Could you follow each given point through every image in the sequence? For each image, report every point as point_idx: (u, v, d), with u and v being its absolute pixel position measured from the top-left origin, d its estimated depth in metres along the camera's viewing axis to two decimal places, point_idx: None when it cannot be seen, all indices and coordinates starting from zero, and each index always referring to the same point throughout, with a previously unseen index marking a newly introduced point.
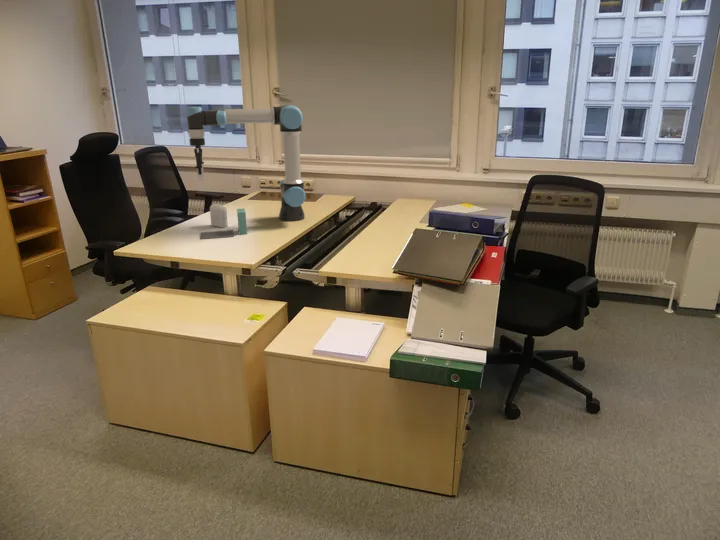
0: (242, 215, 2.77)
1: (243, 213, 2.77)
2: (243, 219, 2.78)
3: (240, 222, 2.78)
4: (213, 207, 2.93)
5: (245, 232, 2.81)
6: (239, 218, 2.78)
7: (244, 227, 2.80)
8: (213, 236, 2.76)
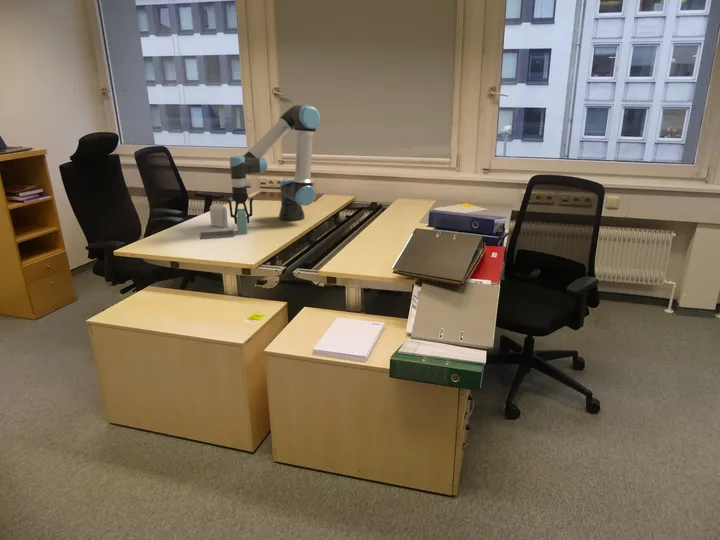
0: (242, 215, 2.77)
1: (243, 213, 2.77)
2: (243, 219, 2.78)
3: (240, 222, 2.78)
4: (213, 207, 2.93)
5: (245, 232, 2.81)
6: (239, 218, 2.78)
7: (244, 227, 2.80)
8: (213, 236, 2.76)
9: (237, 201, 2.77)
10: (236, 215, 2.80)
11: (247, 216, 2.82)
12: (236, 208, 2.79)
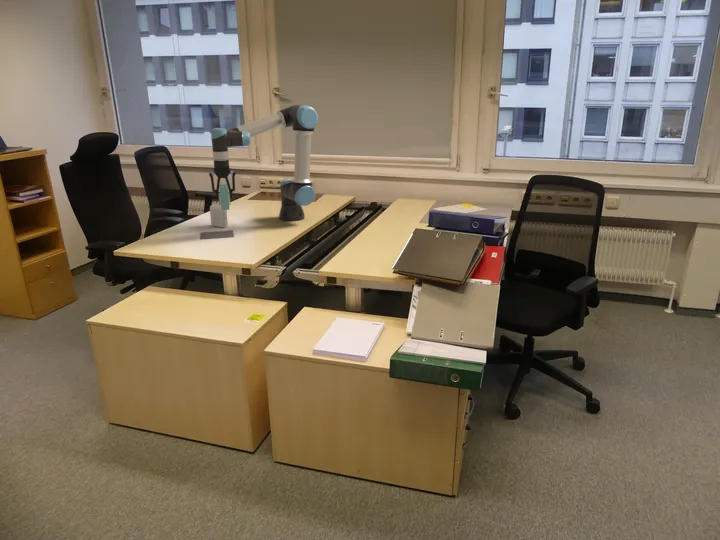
0: (224, 189, 2.69)
1: (225, 187, 2.69)
2: (225, 194, 2.70)
3: (222, 197, 2.70)
4: (213, 207, 2.93)
5: (227, 207, 2.72)
6: (221, 193, 2.69)
7: (227, 202, 2.71)
8: (213, 236, 2.76)
9: (219, 175, 2.69)
10: (218, 190, 2.72)
11: (229, 191, 2.73)
12: (218, 182, 2.70)
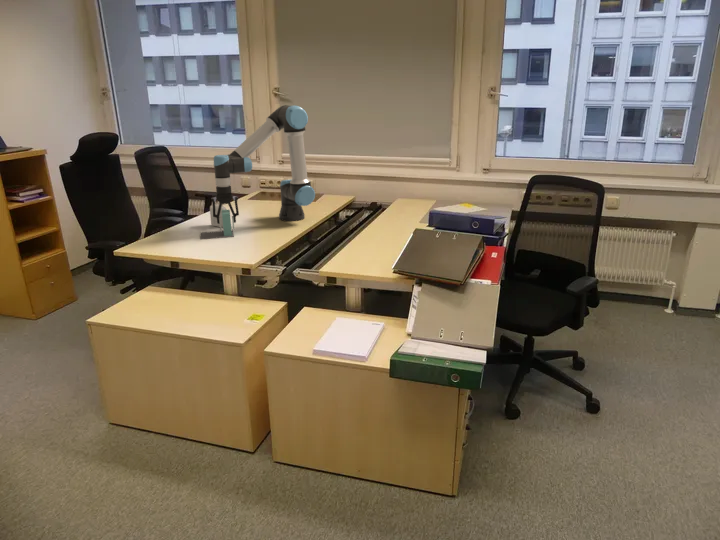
0: (227, 216, 2.74)
1: (228, 214, 2.73)
2: (228, 220, 2.74)
3: (225, 223, 2.75)
4: None
5: (230, 233, 2.77)
6: (224, 219, 2.74)
7: (229, 228, 2.76)
8: (213, 236, 2.76)
9: (221, 201, 2.73)
10: None
11: None
12: (219, 208, 2.75)
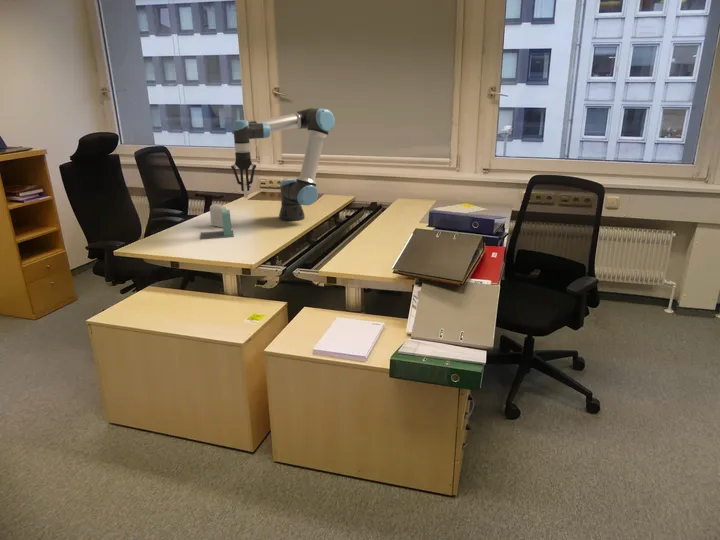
0: (227, 216, 2.74)
1: (228, 214, 2.73)
2: (228, 220, 2.74)
3: (225, 223, 2.75)
4: (213, 207, 2.93)
5: (230, 233, 2.77)
6: (224, 219, 2.74)
7: (229, 228, 2.76)
8: (213, 236, 2.76)
9: (241, 167, 2.70)
10: None
11: (247, 183, 2.74)
12: (241, 174, 2.72)
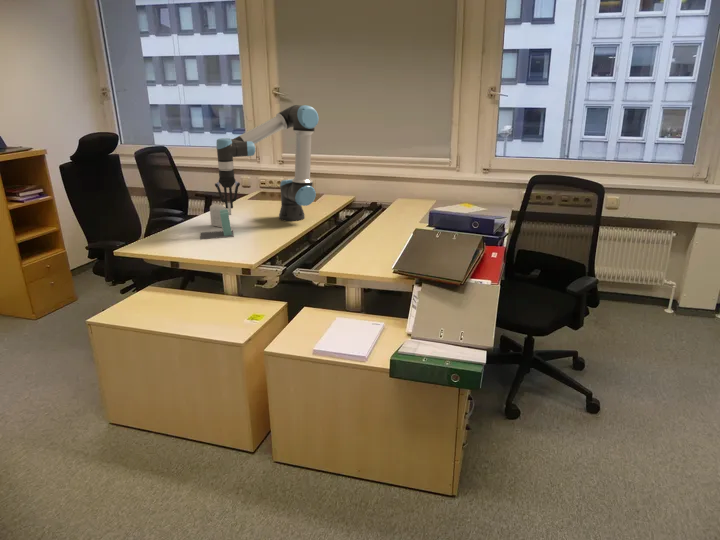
0: (225, 216, 2.73)
1: (226, 214, 2.73)
2: (226, 220, 2.74)
3: (223, 223, 2.74)
4: (213, 207, 2.93)
5: (230, 233, 2.77)
6: (222, 219, 2.74)
7: (228, 227, 2.76)
8: (213, 236, 2.76)
9: (224, 185, 2.71)
10: None
11: (230, 201, 2.75)
12: (225, 192, 2.73)
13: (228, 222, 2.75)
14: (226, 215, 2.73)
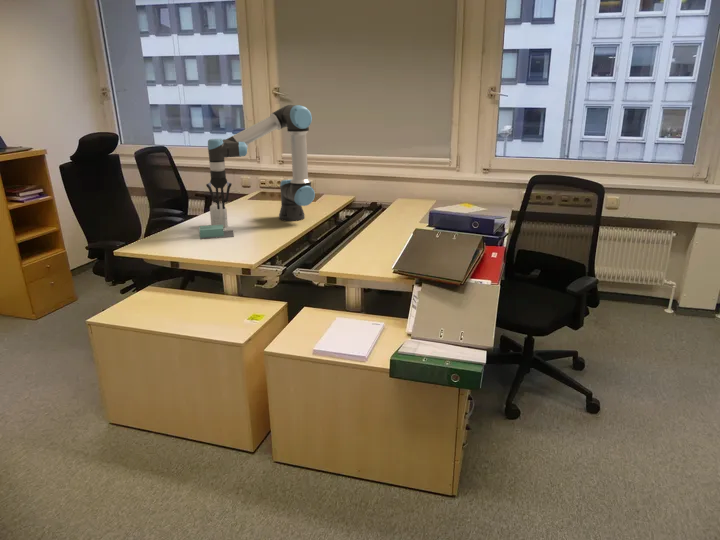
0: (203, 233, 2.73)
1: (200, 232, 2.73)
2: (207, 232, 2.74)
3: (210, 235, 2.75)
4: (213, 207, 2.93)
5: (221, 230, 2.75)
6: (206, 235, 2.74)
7: (215, 230, 2.75)
8: None
9: (216, 185, 2.70)
10: (218, 200, 2.73)
11: (222, 202, 2.74)
12: (217, 193, 2.72)
13: (209, 230, 2.74)
14: (202, 232, 2.73)
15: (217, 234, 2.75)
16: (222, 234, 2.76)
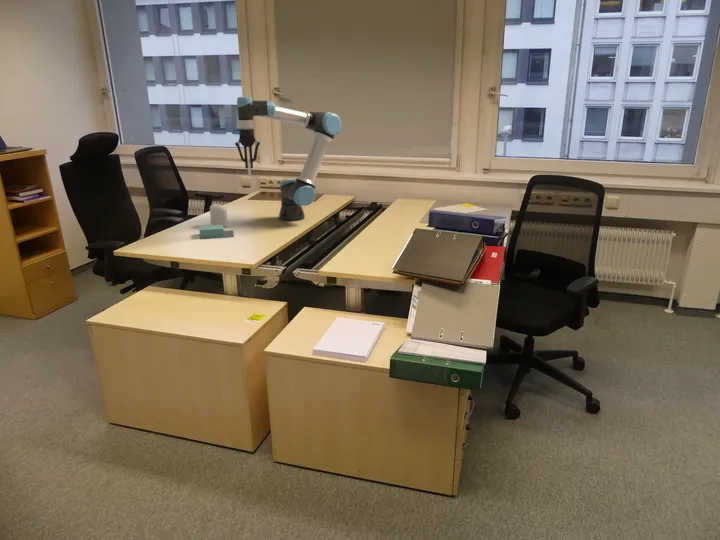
0: (203, 233, 2.73)
1: (200, 232, 2.73)
2: (207, 232, 2.74)
3: (210, 235, 2.75)
4: (213, 207, 2.93)
5: (221, 230, 2.75)
6: (206, 235, 2.74)
7: (215, 230, 2.75)
8: None
9: (245, 144, 2.72)
10: None
11: (250, 160, 2.76)
12: (245, 151, 2.74)
13: (209, 230, 2.74)
14: (202, 232, 2.73)
15: (217, 234, 2.75)
16: (222, 234, 2.76)
